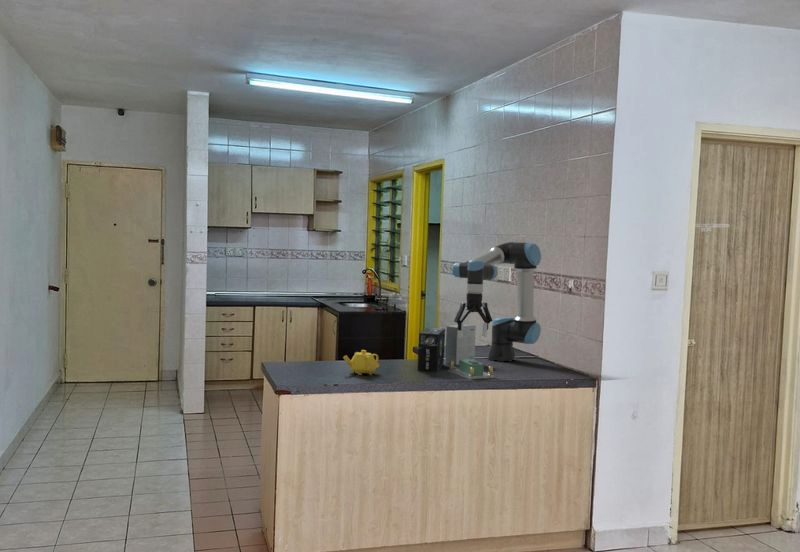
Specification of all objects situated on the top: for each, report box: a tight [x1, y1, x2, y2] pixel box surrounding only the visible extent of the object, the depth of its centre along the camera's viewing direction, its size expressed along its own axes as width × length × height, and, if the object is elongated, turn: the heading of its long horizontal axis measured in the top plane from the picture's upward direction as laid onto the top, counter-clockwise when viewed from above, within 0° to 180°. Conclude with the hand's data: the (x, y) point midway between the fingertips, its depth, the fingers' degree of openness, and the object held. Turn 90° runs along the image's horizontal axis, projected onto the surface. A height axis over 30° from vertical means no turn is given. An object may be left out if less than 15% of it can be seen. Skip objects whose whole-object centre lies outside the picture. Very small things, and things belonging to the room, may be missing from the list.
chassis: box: [447, 361, 495, 380], centre depth 351 cm, size 13×20×5 cm, turn 27°
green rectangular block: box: [458, 359, 485, 375], centre depth 351 cm, size 7×14×6 cm, turn 17°
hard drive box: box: [444, 323, 477, 366], centre depth 382 cm, size 16×8×20 cm, turn 134°
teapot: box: [342, 349, 380, 376], centre depth 341 cm, size 14×14×11 cm
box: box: [417, 327, 446, 373], centre depth 364 cm, size 23×10×19 cm, turn 168°
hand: (472, 336), depth 350 cm, fingers open, 13 cm apart
